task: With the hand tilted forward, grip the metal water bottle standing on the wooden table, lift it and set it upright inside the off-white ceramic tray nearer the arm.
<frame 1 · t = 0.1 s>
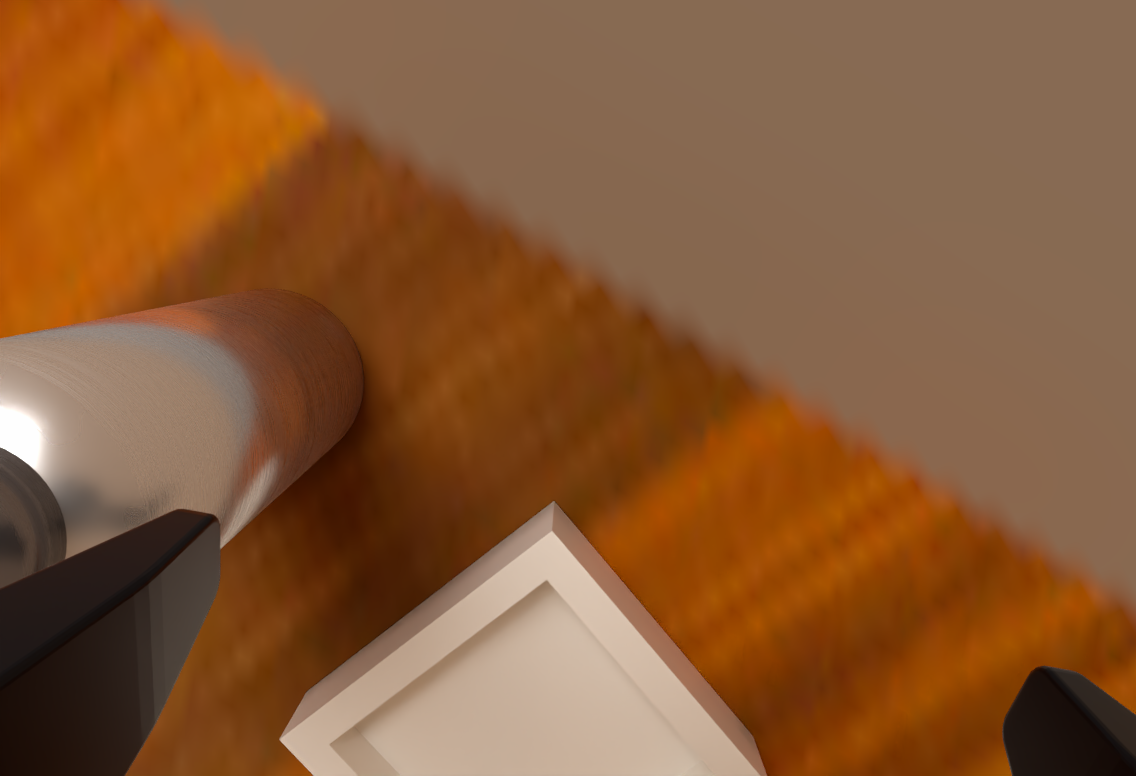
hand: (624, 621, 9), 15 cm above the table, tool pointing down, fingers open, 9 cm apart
metal water bottle: (274, 378, 24), on the table
serving tray: (530, 714, 26), on the table
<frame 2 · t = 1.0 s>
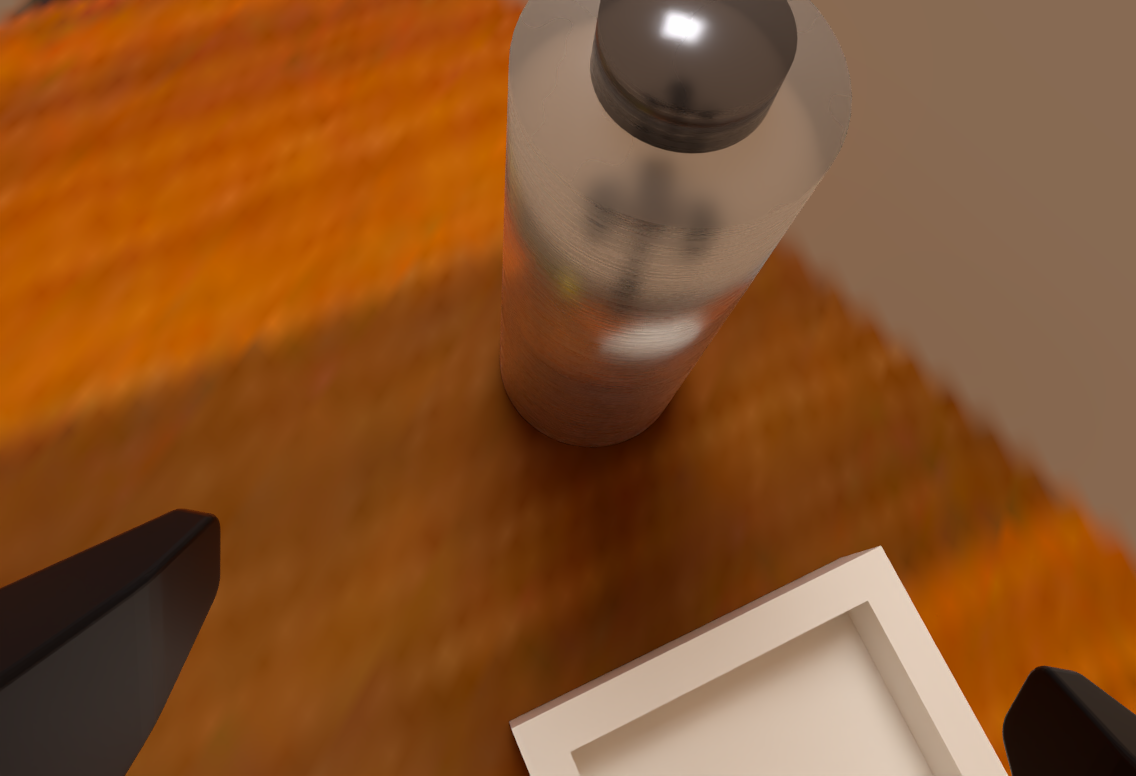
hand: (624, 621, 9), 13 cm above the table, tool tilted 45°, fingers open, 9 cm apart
metal water bottle: (589, 360, 24), on the table
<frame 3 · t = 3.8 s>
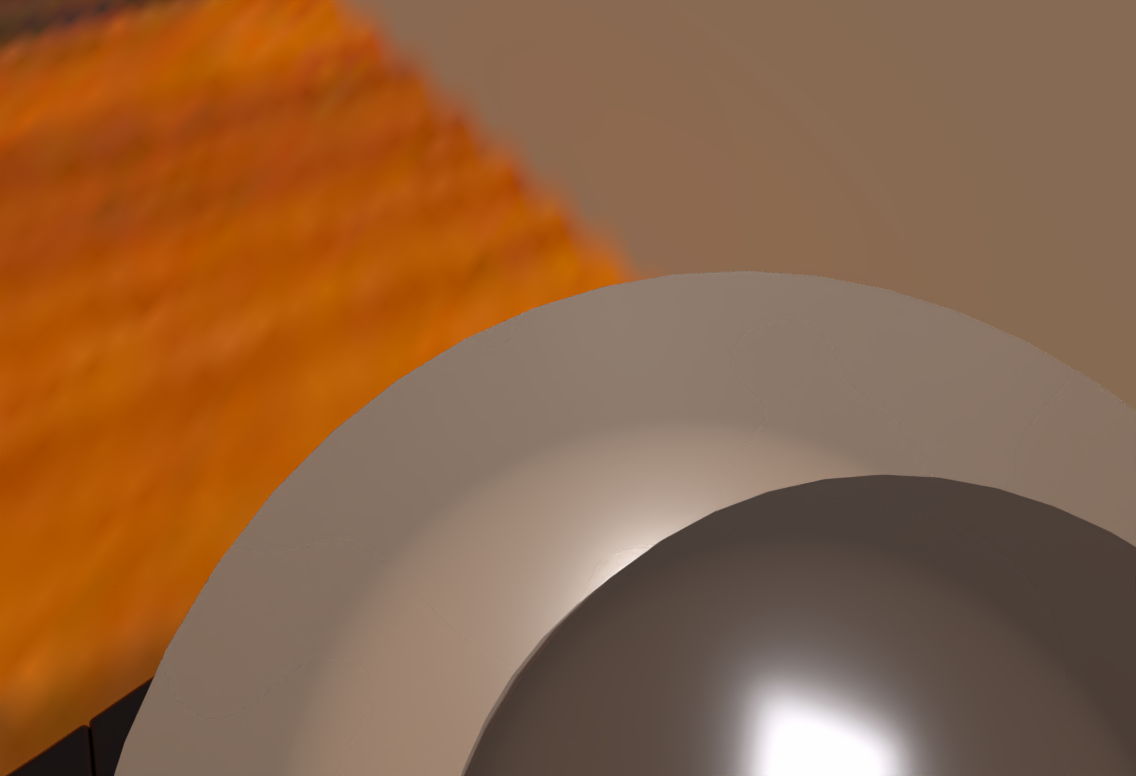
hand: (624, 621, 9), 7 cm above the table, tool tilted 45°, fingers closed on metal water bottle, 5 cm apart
metal water bottle: (556, 723, 15), on the table, touching gripper
when the fingers open (9 cm above the table, at t = 7.7 s): metal water bottle drops 1 cm, resting on serving tray.
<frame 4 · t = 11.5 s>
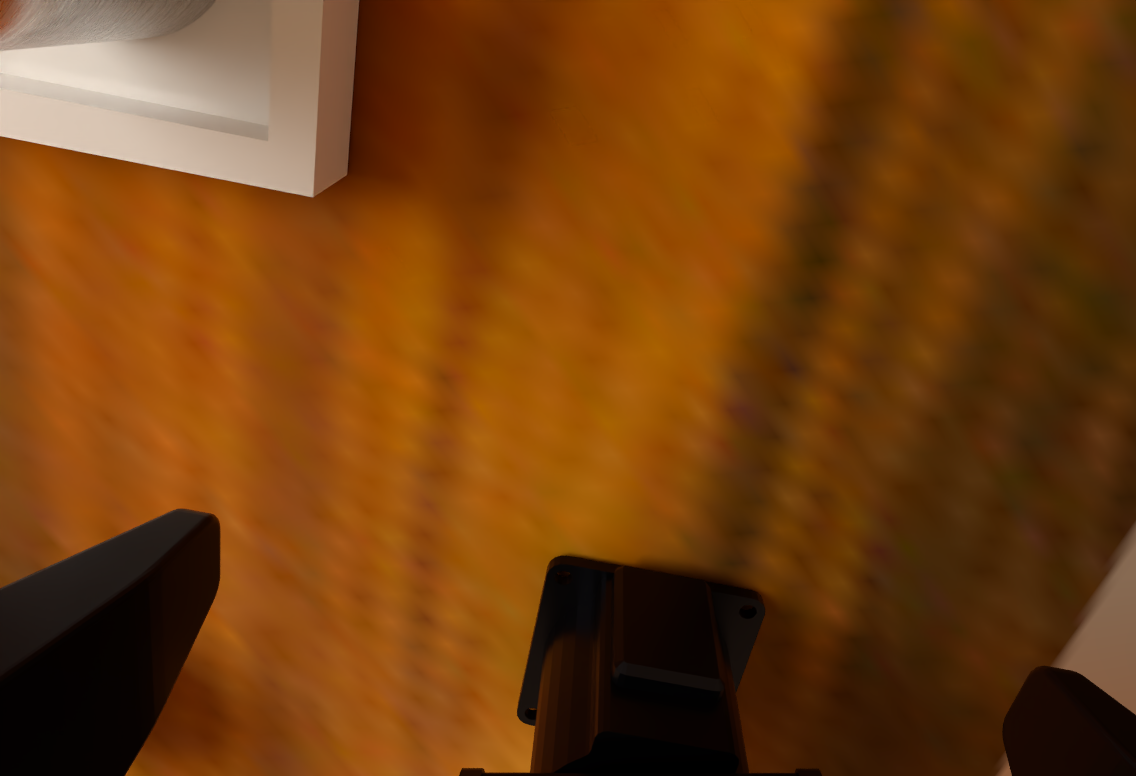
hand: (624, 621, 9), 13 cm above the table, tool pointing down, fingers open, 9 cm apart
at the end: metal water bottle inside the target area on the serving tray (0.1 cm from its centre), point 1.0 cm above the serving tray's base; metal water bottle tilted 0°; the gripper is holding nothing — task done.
